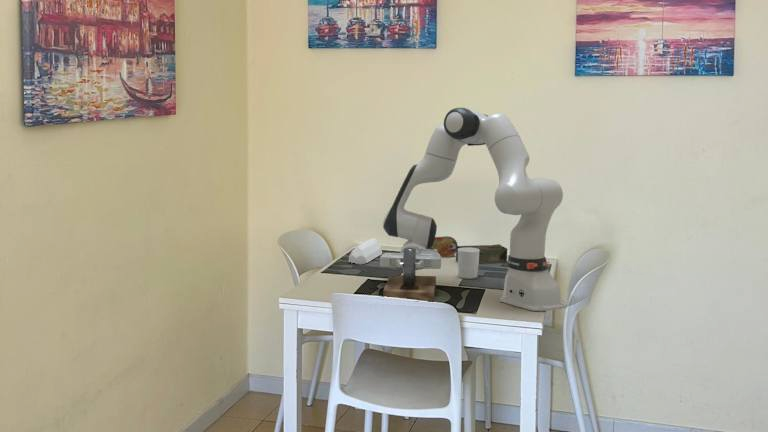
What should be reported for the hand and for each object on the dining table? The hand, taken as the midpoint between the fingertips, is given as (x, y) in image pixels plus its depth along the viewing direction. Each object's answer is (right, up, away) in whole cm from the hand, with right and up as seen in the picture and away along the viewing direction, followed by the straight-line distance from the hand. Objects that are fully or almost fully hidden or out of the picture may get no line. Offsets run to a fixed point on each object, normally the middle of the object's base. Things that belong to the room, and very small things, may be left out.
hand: (409, 265), depth 278 cm
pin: (0, -6, +2) cm, 7 cm away
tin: (+14, -1, +68) cm, 69 cm away
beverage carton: (+30, -2, +59) cm, 67 cm away
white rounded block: (-15, -1, +63) cm, 64 cm away
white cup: (+22, -6, +32) cm, 40 cm away
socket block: (+1, -9, +8) cm, 12 cm away
